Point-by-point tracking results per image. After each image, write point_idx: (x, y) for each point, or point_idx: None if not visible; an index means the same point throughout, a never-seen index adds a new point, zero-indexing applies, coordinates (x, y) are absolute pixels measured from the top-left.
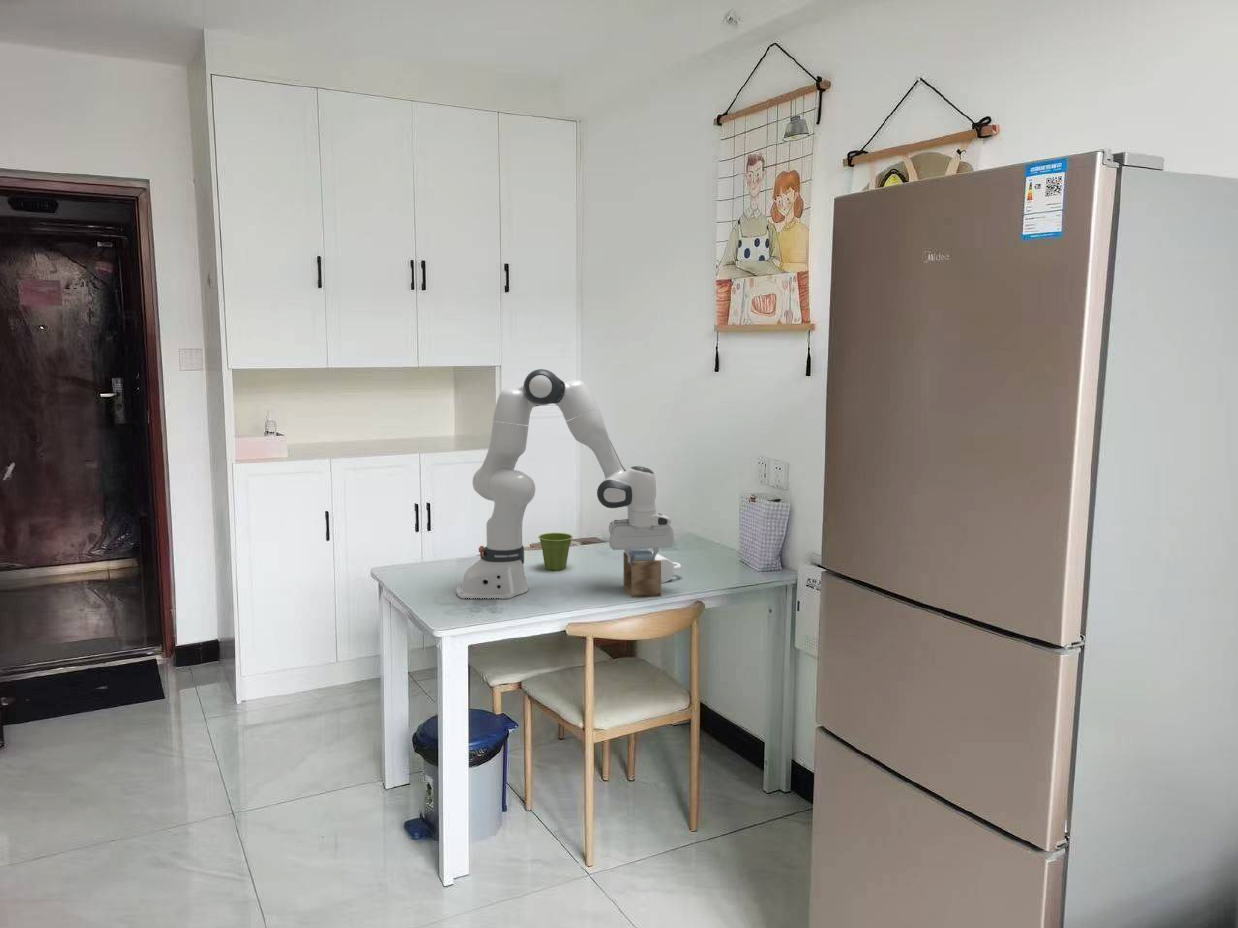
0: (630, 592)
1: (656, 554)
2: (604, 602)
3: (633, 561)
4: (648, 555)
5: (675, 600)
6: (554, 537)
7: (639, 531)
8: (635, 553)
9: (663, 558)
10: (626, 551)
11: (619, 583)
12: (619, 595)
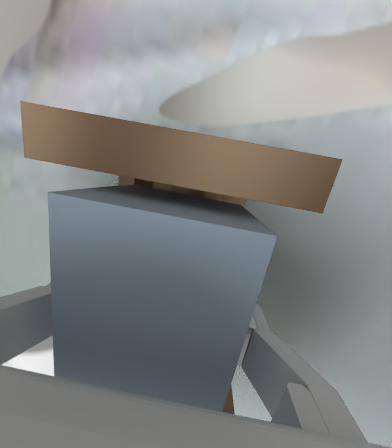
0: (244, 203)
1: (14, 294)
2: (372, 153)
3: (298, 208)
4: (106, 230)
5: (115, 73)
6: None
7: None
8: (216, 356)
9: (20, 361)
10: (341, 407)
11: None
12: (277, 214)
